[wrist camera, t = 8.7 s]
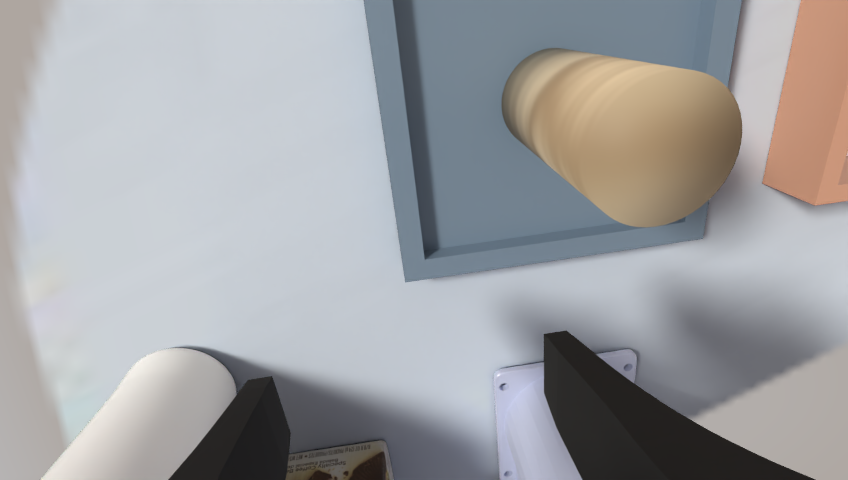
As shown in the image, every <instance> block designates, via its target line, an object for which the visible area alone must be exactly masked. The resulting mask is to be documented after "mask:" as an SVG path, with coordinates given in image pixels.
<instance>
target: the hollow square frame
mask: <svg viewBox="0 0 848 480" xmlns="http://www.w3.org/2000/svg"><path fill="white" fill-rule="evenodd" d="M847 151H848V0H801V3H800V8H799V13H798V18H797V22H796V27H795V32H794V36H793V41H792V46H791V51H790V55H789V60H788V65H787V69H786V74H785V79H784V84H783V88H782V93H781V98H780V102H779V107H778V112H777V117H776V121H775V126H774V131H773V135H772V140H771V145H770V150H769V154H768V159H767V164H766V168H765V173H764V178H763V184H765V185H768V186H770V187H772V188H775V189H777V190H779V191H782V192H784V193H786V194H789V195H791V196H794V197H796V198H798V199H801V200H803V201H805V202H808V203H810V204H812V205H822V204H829V203H836V202H843V201H848V156H846V155H847Z"/></svg>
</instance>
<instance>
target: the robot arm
mask: <svg viewBox="0 0 848 480" xmlns="http://www.w3.org/2000/svg"><path fill="white" fill-rule="evenodd" d="M626 364H628V365H627V366H625V365H626ZM636 364H637V356H636V354H635V353H634V352H633V351H632V350H630V349H625V350H618V351H612V352H605V353H599V354H595V353H594V352H592V351H591V350H590V349H589V348H587V347H586V346H585V345H584V344H583V343H581V342H580V341H579V340H578V339H576V338H575V337H574V336H573V335H571V334H570V333H569V332H567V331H561V332H555V333H548V334H544V362H541V363H535V364H528V365H522V366H515V367H509V368H502V369H499V370H497V371H496V372H495V373H494V376H493V381H494V398H495V415H496V432H497V448H498V465H499V480H815V479H813V478H810V477H808V476H805V475H803V474H800V473H798V472H795V471H793V470H791V469H789V468H786V467H784V466H781V465H779V464H777V463H775V462H772V461H770V460H768V459H766V458H764V457H761V456H759V455H757V454H755V453H753V452H751V451H748V450H747V449H745V448H743V447H740V446H738V445H736V444H734V443H732V442H730V441H728V440H726V439H724V438H722V437H720V436H719V435H717V434H715V433H713V432H711V431H709V430H707V429H706V428H704V427H702V426H700V425H698V424H697V423H695V422H693V421H692V420H690V419H688V418H686V417H685V416H683V415H681V414H680V413H678V412H676V411H675V410H673V409H671V408H670V407H668V406H667V405H665V404H663V403H662V402H660V401H659V400H657V399H656V398H654V397H653V396H651V395H650V394H648V393H647V392H645V391H644V390H642V389H641V388H640V387H638V386H637V385H635V384H634V382H635V373H636ZM503 383H506V384H505V385H503V386H500V385H501V384H503ZM290 434H291V433H290V430H289V427H288V424H287V421H286V418H285V415H284V411H283V408H282V405H281V402H280V399H279V396H278V393H277V390H276V387H275V384H274V381H273V378H272V376H271V377H264V378H258V379H251V380H248V381H247V383H246V384H245V385H244V386H243V388H242V389H241V390H240V391H239V393H238V394H237V395H236V396H235V398H234V399H233V400H232V402H231V403H230V404H229V406H228V407H227V408H226V410H225V411H224V412H223V414H222V415H221V416H220V417H219V419H218V420H217V421H216V423H215V424H214V425H213V426H212V428H211V429H210V430H209V431H208V433H207V434H206V435H205V436H204V438H203V439H202V440H201V442H200V443H199V444H198V445H197V447H196V448H195V449H194V450H193V451H192V453H191V454H190V455H189V456H188V457H187V458H186V460H185V461H184V462H183V463H182V464H181V465H180V467H179V468H178V469H177V470H176V471H175V472H174V473H173V475H172V476H171V477H170V478H169V479H168V480H286V475H287V467H288V458H289V446H290Z"/></svg>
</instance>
